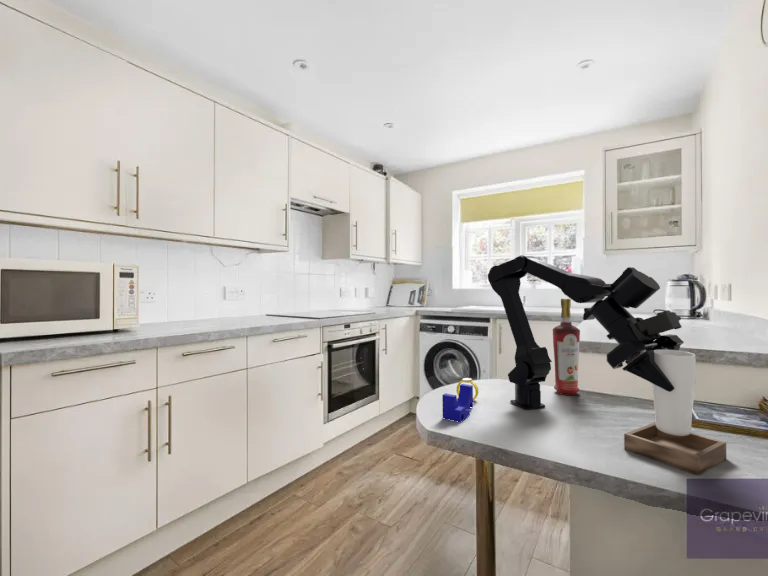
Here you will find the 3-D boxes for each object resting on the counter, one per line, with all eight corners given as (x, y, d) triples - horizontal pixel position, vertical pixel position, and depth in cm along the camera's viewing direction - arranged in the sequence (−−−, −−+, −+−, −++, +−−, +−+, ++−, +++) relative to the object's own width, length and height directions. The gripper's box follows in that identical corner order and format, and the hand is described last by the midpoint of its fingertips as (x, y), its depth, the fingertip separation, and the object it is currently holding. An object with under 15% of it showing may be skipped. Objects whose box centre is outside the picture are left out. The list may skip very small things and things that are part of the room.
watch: (456, 400, 104) (454, 379, 104) (459, 397, 106) (458, 377, 106) (476, 402, 101) (475, 380, 101) (479, 399, 103) (478, 378, 103)
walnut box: (624, 448, 71) (624, 433, 71) (654, 436, 77) (654, 422, 77) (697, 475, 61) (697, 457, 61) (726, 458, 67) (726, 442, 67)
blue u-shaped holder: (460, 423, 86) (459, 397, 86) (442, 419, 89) (442, 394, 89) (478, 409, 96) (478, 386, 96) (462, 406, 98) (462, 383, 98)
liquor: (574, 389, 112) (574, 298, 112) (584, 397, 105) (584, 299, 105) (549, 389, 113) (548, 298, 113) (557, 396, 106) (557, 299, 106)
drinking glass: (694, 442, 65) (693, 357, 64) (647, 431, 70) (646, 353, 69) (698, 430, 69) (698, 352, 69) (654, 421, 74) (654, 348, 74)
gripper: (623, 298, 68) (696, 369, 59) (672, 296, 77) (742, 357, 68) (582, 335, 75) (641, 404, 65) (631, 329, 84) (689, 389, 75)
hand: (681, 387), depth 68 cm, fingers closed on drinking glass, 6 cm apart
